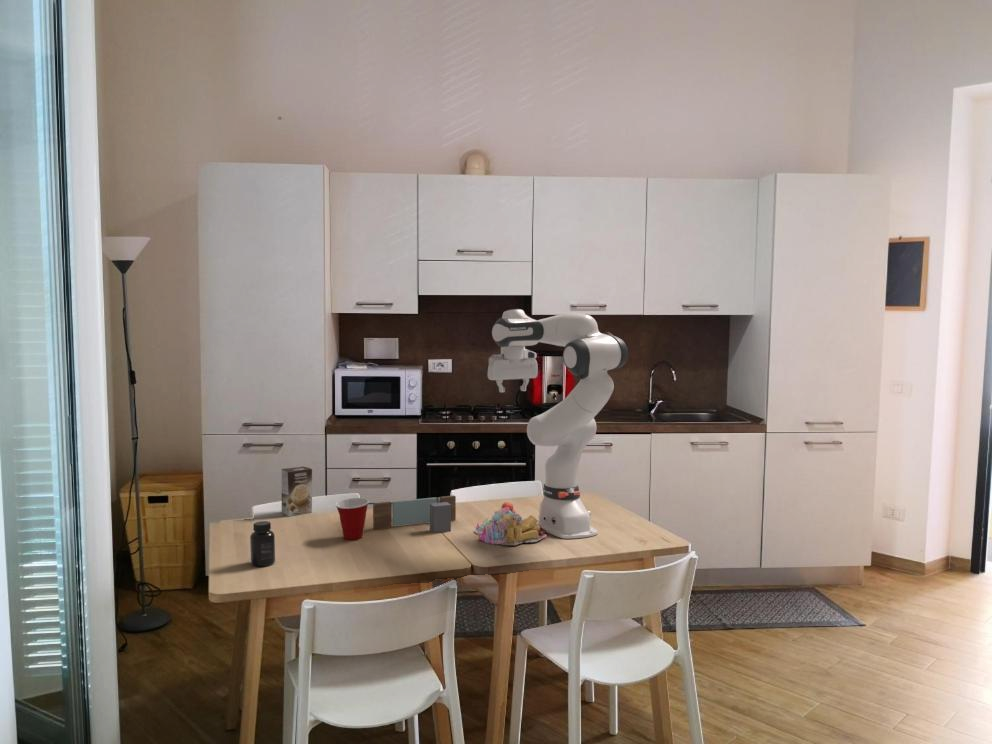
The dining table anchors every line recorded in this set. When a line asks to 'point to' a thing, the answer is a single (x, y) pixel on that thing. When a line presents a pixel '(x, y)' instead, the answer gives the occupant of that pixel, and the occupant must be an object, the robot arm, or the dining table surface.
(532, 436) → the robot arm
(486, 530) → the candy landscape model
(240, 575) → the dining table surface
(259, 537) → the supplement bottle
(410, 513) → the door
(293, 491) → the coffee box
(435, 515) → the block
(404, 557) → the dining table surface
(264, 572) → the dining table surface
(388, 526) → the wooden blocks
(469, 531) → the dining table surface
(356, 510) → the plastic cup
